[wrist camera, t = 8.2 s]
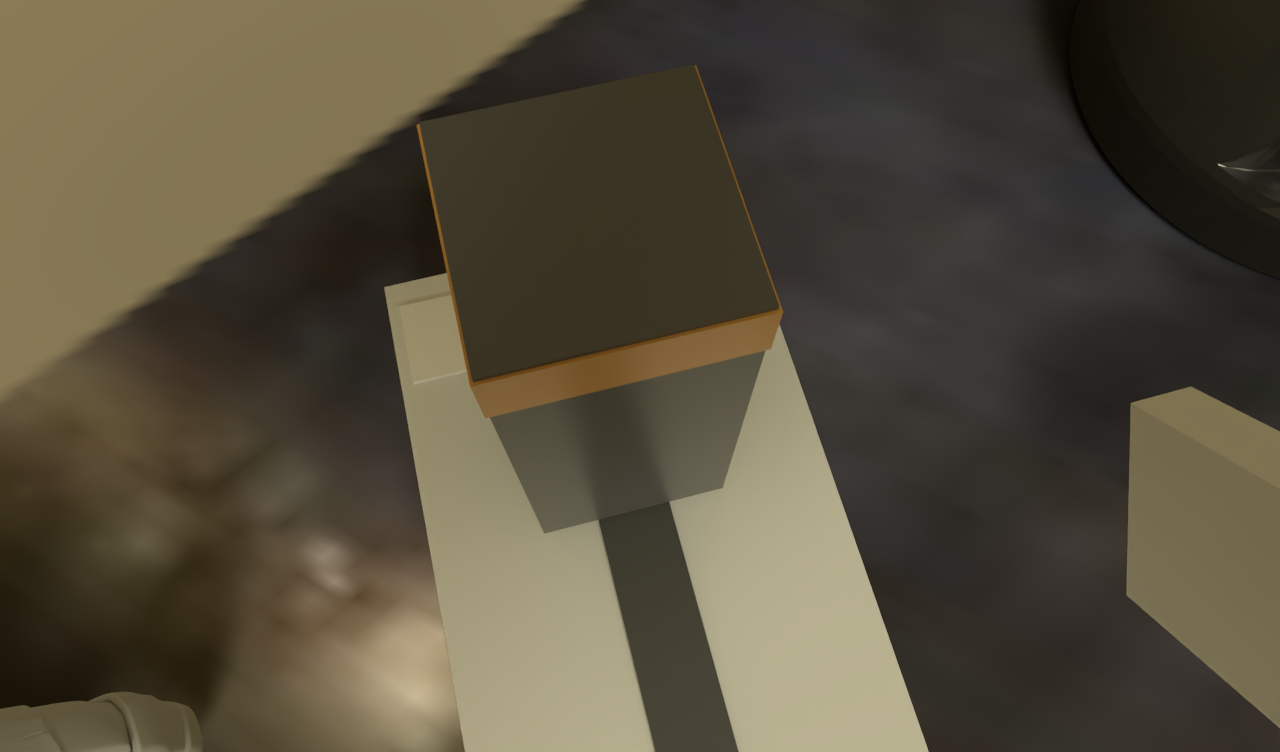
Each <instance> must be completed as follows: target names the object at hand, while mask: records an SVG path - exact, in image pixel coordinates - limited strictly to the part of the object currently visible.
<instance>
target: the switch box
mask: <svg viewBox="0 0 1280 752" xmlns="http://www.w3.org/2000/svg"><path fill="white" fill-rule="evenodd" d="M384 289H385V295H386V301H387V307H388V312H389V318H390V324H391V330H392V335H393V341H394V347H395V353H396V358H397V364H398V370H399V376H400V381H401V387H402V393H403V399H404V404H405V410H406V416H407V421H408V427H409V433H410V439H411V444H412V450H413V456H414V462H415V467H416V473H417V479H418V485H419V490H420V496H421V502H422V508H423V513H424V519H425V525H426V531H427V536H428V542H429V548H430V554H431V559H432V565H433V571H434V577H435V582H436V588H437V594H438V600H439V605H440V611H441V617H442V622H443V628H444V634H445V640H446V645H447V651H448V657H449V663H450V668H451V674H452V680H453V686H454V691H455V697H456V703H457V709H458V714H459V720H460V726H461V732H462V737H463V743H464V749H465V752H929V751H928V748H927V746H926V743H925V740H924V737H923V734H922V731H921V728H920V726H919V723H918V720H917V717H916V714H915V711H914V708H913V705H912V703H911V700H910V697H909V694H908V691H907V688H906V685H905V683H904V680H903V677H902V674H901V671H900V668H899V665H898V662H897V660H896V657H895V654H894V651H893V648H892V645H891V642H890V640H889V637H888V634H887V631H886V628H885V625H884V622H883V620H882V617H881V614H880V611H879V608H878V605H877V602H876V599H875V597H874V594H873V591H872V588H871V585H870V582H869V579H868V577H867V574H866V571H865V568H864V565H863V562H862V559H861V556H860V554H859V551H858V548H857V545H856V542H855V539H854V536H853V534H852V531H851V528H850V525H849V522H848V519H847V516H846V513H845V511H844V508H843V505H842V502H841V499H840V496H839V493H838V491H837V488H836V485H835V482H834V479H833V476H832V473H831V471H830V468H829V465H828V462H827V459H826V456H825V453H824V450H823V448H822V445H821V442H820V439H819V436H818V433H817V430H816V428H815V425H814V422H813V419H812V416H811V413H810V410H809V407H808V405H807V402H806V399H805V396H804V393H803V390H802V387H801V385H800V382H799V379H798V376H797V373H796V370H795V367H794V364H793V362H792V359H791V356H790V353H789V350H788V347H787V344H786V342H785V339H784V336H783V333H782V330H781V327H780V324H779V326H778V329H777V333H776V336H775V339H774V342H773V345H772V348H771V349H770V350H766V351H765V354H764V357H763V360H762V363H761V367H760V370H759V373H758V376H757V379H756V383H755V386H754V389H753V392H752V395H751V399H750V402H749V405H748V408H747V411H746V415H745V418H744V421H743V424H742V428H741V431H740V434H739V437H738V440H737V444H736V447H735V450H734V453H733V456H732V460H731V463H730V466H729V469H728V472H727V476H726V479H725V482H724V485H723V488H721V489H717V490H713V491H709V492H705V493H701V494H697V495H693V496H689V497H686V498H682V499H678V500H674V501H670V502H666V503H662V504H658V505H654V506H650V507H646V508H643V509H639V510H635V511H631V512H627V513H623V514H619V515H615V516H611V517H607V518H603V519H600V520H596V521H592V522H588V523H584V524H580V525H576V526H572V527H568V528H564V529H560V530H556V531H553V532H549V533H545V534H544V532H543V530H542V528H541V525H540V523H539V521H538V519H537V517H536V515H535V513H534V510H533V508H532V506H531V504H530V502H529V500H528V498H527V496H526V493H525V491H524V489H523V487H522V485H521V483H520V481H519V479H518V476H517V474H516V472H515V470H514V468H513V466H512V464H511V462H510V459H509V457H508V455H507V453H506V451H505V449H504V447H503V445H502V442H501V440H500V438H499V436H498V434H497V432H496V430H495V428H494V425H493V423H492V421H491V419H490V417H489V418H485V417H484V415H483V413H482V411H481V408H480V406H479V404H478V402H477V400H476V398H475V396H474V394H473V392H472V390H471V388H470V384H469V379H468V375H467V370H466V365H465V360H464V355H463V350H462V345H461V340H460V335H459V330H458V326H457V321H456V316H455V311H454V306H453V301H452V296H451V291H450V286H449V281H448V277H447V273H445V274H440V275H436V276H431V277H427V278H423V279H418V280H414V281H409V282H405V283H401V284H396V285H392V286H387V287H384Z"/></svg>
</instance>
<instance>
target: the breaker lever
mask: <svg viewBox="0 0 1280 752" xmlns="http://www.w3.org/2000/svg"><path fill="white" fill-rule="evenodd" d="M417 130H418V134H419V139H420V144H421V149H422V154H423V159H424V164H425V169H426V174H427V179H428V183H429V188H430V193H431V198H432V203H433V208H434V213H435V218H436V223H437V228H438V232H439V237H440V242H441V247H442V252H443V257H444V262H445V267H446V272H447V277H448V281H449V286H450V291H451V296H452V301H453V306H454V311H455V316H456V321H457V326H458V330H459V335H460V340H461V345H462V350H463V355H464V360H465V365H466V370H467V375H468V379H469V384H470V388H471V390H472V392H473V394H474V396H475V398H476V400H477V402H478V404H479V406H480V408H481V411H482V413H483V415H484V417H485V418H489V417H490V419H491V421H492V423H493V425H494V428H495V430H496V432H497V434H498V436H499V438H500V440H501V442H502V445H503V447H504V449H505V451H506V453H507V455H508V457H509V459H510V462H511V464H512V466H513V468H514V470H515V472H516V474H517V476H518V479H519V481H520V483H521V485H522V487H523V489H524V491H525V493H526V496H527V498H528V500H529V502H530V504H531V506H532V508H533V510H534V513H535V515H536V517H537V519H538V521H539V523H540V525H541V528H542V530H543V532H544V534H545V533H549V532H553V531H556V530H560V529H564V528H568V527H572V526H576V525H580V524H584V523H588V522H592V521H596V520H600V519H603V518H607V517H611V516H615V515H619V514H623V513H627V512H631V511H635V510H639V509H643V508H646V507H650V506H654V505H658V504H662V503H666V502H670V501H674V500H678V499H682V498H686V497H689V496H693V495H697V494H701V493H705V492H709V491H713V490H717V489H721V488H723V485H724V482H725V479H726V476H727V472H728V469H729V466H730V463H731V460H732V456H733V453H734V450H735V447H736V444H737V440H738V437H739V434H740V431H741V428H742V424H743V421H744V418H745V415H746V411H747V408H748V405H749V402H750V399H751V395H752V392H753V389H754V386H755V383H756V379H757V376H758V373H759V370H760V367H761V363H762V360H763V357H764V354H765V351H766V350H770V349H771V348H772V345H773V342H774V339H775V336H776V333H777V329H778V326H779V323H780V320H781V317H782V314H783V310H782V307H781V304H780V302H779V299H778V296H777V293H776V290H775V287H774V285H773V282H772V279H771V276H770V273H769V270H768V268H767V265H766V262H765V259H764V256H763V253H762V251H761V248H760V245H759V242H758V239H757V236H756V234H755V231H754V228H753V225H752V222H751V219H750V217H749V214H748V211H747V208H746V205H745V202H744V200H743V197H742V194H741V191H740V188H739V185H738V182H737V180H736V177H735V174H734V171H733V168H732V165H731V163H730V160H729V157H728V154H727V151H726V148H725V146H724V143H723V140H722V137H721V134H720V131H719V129H718V126H717V123H716V120H715V117H714V114H713V112H712V109H711V106H710V103H709V100H708V97H707V95H706V92H705V89H704V86H703V83H702V80H701V78H700V75H699V72H698V69H697V66H695V65H694V64H692V65H687V66H683V67H678V68H673V69H668V70H664V71H659V72H654V73H649V74H645V75H640V76H635V77H630V78H626V79H621V80H616V81H612V82H607V83H602V84H597V85H593V86H588V87H583V88H578V89H574V90H569V91H564V92H559V93H555V94H550V95H545V96H541V97H536V98H531V99H526V100H522V101H517V102H512V103H507V104H503V105H498V106H493V107H488V108H484V109H479V110H474V111H470V112H465V113H460V114H455V115H451V116H446V117H441V118H436V119H432V120H427V121H422V122H419V124H417Z"/></svg>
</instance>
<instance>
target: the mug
mask: <svg viewBox="0 0 1280 752" xmlns="http://www.w3.org/2000/svg"><path fill="white" fill-rule="evenodd" d="M0 752H203V738H202V733H201V730H200V727H199V724H198V721H197V719H196V716H195V714H194V712H193V711H192V709H191V708H190V707H188V706H186V705H183V704H180V703H176V702H169V701H161V700H158V699H156V698H155V697H154V696H151V695H141V694H137V693H132V692H115V693H108V694H105V695H102V696H99V697H97V698H94V699H92V700H90V701H87V702H85V701H71V702H62V703H55V704H49V705H44V706H38V707H32V708H29V707H28V706H26V705H21V706H14V707H9V708H3V709H0Z"/></svg>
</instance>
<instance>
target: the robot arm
mask: <svg viewBox="0 0 1280 752" xmlns="http://www.w3.org/2000/svg"><path fill="white" fill-rule="evenodd" d="M1069 48H1070V67H1071V75H1072V80H1073V85H1074V90H1075V93H1076V96H1077V100H1078V103H1079V106H1080V108H1081V111H1082V113H1083V116H1084V118H1085V120H1086V122H1087V124H1088V127H1089V129H1090V131H1091V133H1092V134H1093V136H1094V138H1095V140H1096V141H1097V143H1098V145H1099V146H1100V148H1101V149H1102V151H1103V152H1104V154H1105V155H1106V157H1107V158H1108V160H1109V161H1110V162H1111V164H1112V165H1113V166H1114V168H1115V169H1116V170H1117V171H1118V173H1119V174H1120V175H1121V176H1122V177H1123V179H1124V180H1125V181H1126V182H1127V183H1128V184H1129V185H1130V186H1131V187H1132V188H1133V190H1134V191H1135V192H1137V193H1138V194H1139V195H1140V196H1141V197H1142V198H1143V199H1144V200H1145V201H1146V202H1147V203H1148V204H1149V205H1150V206H1151V207H1153V208H1154V209H1155V210H1156V211H1157V212H1158V213H1159V214H1161V215H1162V216H1163V217H1164V218H1166V219H1167V220H1168V221H1170V222H1171V223H1172V224H1174V225H1175V226H1176V227H1178V228H1179V229H1180V230H1182V231H1183V232H1185V233H1186V234H1188V235H1189V236H1191V237H1192V238H1194V239H1195V240H1197V241H1199V242H1200V243H1202V244H1204V245H1205V246H1207V247H1209V248H1211V249H1212V250H1214V251H1216V252H1218V253H1220V254H1222V255H1224V256H1226V257H1228V258H1230V259H1232V260H1234V261H1236V262H1238V263H1240V264H1243V265H1245V266H1247V267H1249V268H1252V269H1254V270H1257V271H1260V272H1262V273H1265V274H1267V275H1270V276H1273V277H1276V278H1280V0H1080V1H1079V3H1078V6H1077V8H1076V12H1075V15H1074V18H1073V23H1072V28H1071V34H1070V47H1069ZM1126 595H1127V596H1128V597H1129V598H1130V599H1132V600H1133V601H1134V602H1135V603H1136V604H1137V605H1138V606H1140V607H1141V608H1142V609H1143V610H1144V611H1145V612H1147V613H1148V614H1149V615H1150V616H1151V617H1152V618H1153V619H1155V620H1156V621H1157V622H1158V623H1159V624H1160V625H1162V626H1163V627H1164V628H1165V629H1166V630H1167V631H1168V632H1170V633H1171V634H1172V635H1173V636H1174V637H1175V638H1176V639H1178V640H1179V641H1180V642H1181V643H1182V644H1183V645H1185V646H1186V647H1187V648H1188V649H1189V650H1190V651H1191V652H1193V653H1194V654H1195V655H1196V656H1197V657H1198V658H1200V659H1201V660H1202V661H1203V662H1204V663H1205V664H1206V665H1208V666H1209V667H1210V668H1211V669H1212V670H1213V671H1215V672H1216V673H1217V674H1218V675H1219V676H1220V677H1221V678H1223V679H1224V680H1225V681H1226V682H1227V683H1228V684H1230V685H1231V686H1232V687H1233V688H1234V689H1235V690H1236V691H1238V692H1239V693H1240V694H1241V695H1242V696H1243V697H1244V698H1246V699H1247V700H1248V701H1249V702H1250V703H1251V704H1253V705H1254V706H1255V707H1256V708H1257V709H1258V710H1259V711H1261V712H1262V713H1263V714H1264V715H1265V716H1266V717H1268V718H1269V719H1270V720H1271V721H1272V722H1273V723H1274V724H1276V725H1277V726H1278V727H1279V728H1280V432H1279V431H1277V430H1275V429H1273V428H1271V427H1269V426H1267V425H1266V424H1264V423H1262V422H1260V421H1258V420H1256V419H1254V418H1252V417H1250V416H1248V415H1246V414H1244V413H1242V412H1240V411H1238V410H1236V409H1234V408H1232V407H1230V406H1228V405H1226V404H1224V403H1222V402H1220V401H1218V400H1216V399H1214V398H1212V397H1210V396H1208V395H1206V394H1204V393H1202V392H1200V391H1199V390H1197V389H1195V388H1193V387H1188V388H1184V389H1181V390H1177V391H1173V392H1170V393H1166V394H1162V395H1159V396H1155V397H1151V398H1148V399H1144V400H1140V401H1137V402H1133V403H1131V421H1130V464H1129V507H1128V550H1127V593H1126Z"/></svg>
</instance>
